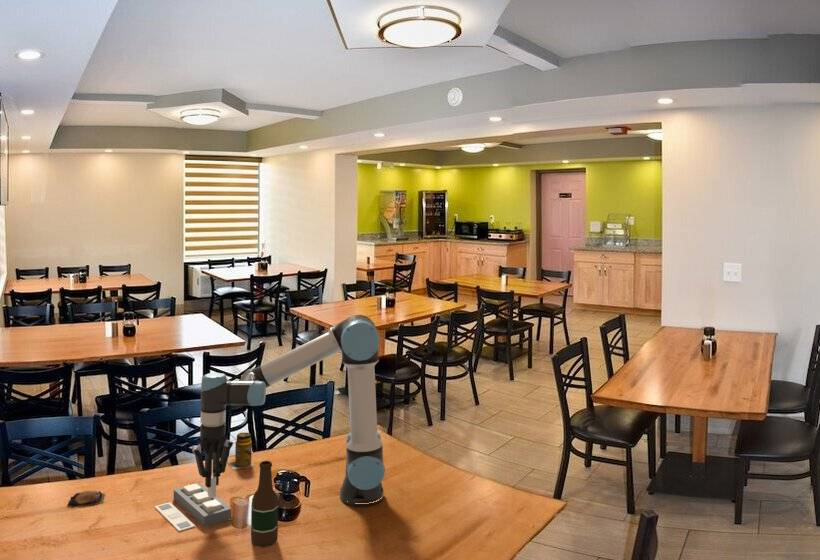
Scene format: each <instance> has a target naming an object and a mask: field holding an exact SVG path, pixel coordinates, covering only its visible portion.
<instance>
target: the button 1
mask: <svg viewBox="0 0 820 560" xmlns="http://www.w3.org/2000/svg"><path fill="white" fill-rule="evenodd" d="M182 487H183V493H184V494H185V495H186V496H190V495H193V494H196V493H200V492H202V488H201V487H200V486H199V485H197V483H192V484H189V485H186V486H182Z"/></svg>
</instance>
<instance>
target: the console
mask: <svg viewBox="0 0 820 560" xmlns="http://www.w3.org/2000/svg"><path fill="white" fill-rule="evenodd" d="M196 484H197V485H199V486H200V487H201V488H202V492H204V491H206V492H207V493H208V488H207V487H206V486H204V485H203V484H202V483H201V482H198V483H196ZM183 487H184V486H182V487H179V488H175V489H173V501H175V503H177V505H179V506H180V508H182V509H183V510H184V511H185V512H187V514H189V516H191V517H192V518H193V519H194V520H195V521H196V522H197V523H199V524H200V525H201V526H202V527H203V528H207V527H210V526H215V525H216V524H217V525H218V524H220V523H221V524H222V523H224V522H226V521H230V520H232V516H233V515H232V516H231V508H232V507H231V506H230V505H228V504H227V503H226V502H225V501H223V500H222V499H221V498H219V496H217V495H216V497H214V498H211V500H214V499H216V500H217V501H218V502H220V503H221V504H222V509H220V510H217V511H213V512H210V513H206V512H205V511H204V510H202V503H201V504H196V503H194V502H193V501H192V499H193V495H190V496H186V495H185V494H184V493H183Z"/></svg>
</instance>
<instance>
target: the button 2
mask: <svg viewBox="0 0 820 560" xmlns="http://www.w3.org/2000/svg"><path fill="white" fill-rule="evenodd" d="M220 509H222V504H221V503H220V502H218V501H217V500H216V499H214V500H211V501H207V502H204V503H202V510H204V511H205V512H206V513H210V512H213V511H217V510H220Z"/></svg>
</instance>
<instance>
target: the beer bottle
mask: <svg viewBox="0 0 820 560" xmlns="http://www.w3.org/2000/svg"><path fill="white" fill-rule="evenodd" d="M258 466H259V479H258V486H257V489H256V491H255V493H253V496H252V499H251V511H250V513H251V514H250V515H251V516H250V517H251V518H250V520H251V521H250V541H251V542H252V544H253V546H255V547H259V548H265V547H270V546H272V545H273V544H275V543H276V542H277V541H278V535H279V533H278V532H279V531H278V530H279V529H278V527H279V499H278V498H279V497H278V495H277V493H276V491H275V490H274V488H273V478H272V476H273V475H272V467H273V463H272V461H270V460H263V461H261V462H260V463H259V465H258Z"/></svg>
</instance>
